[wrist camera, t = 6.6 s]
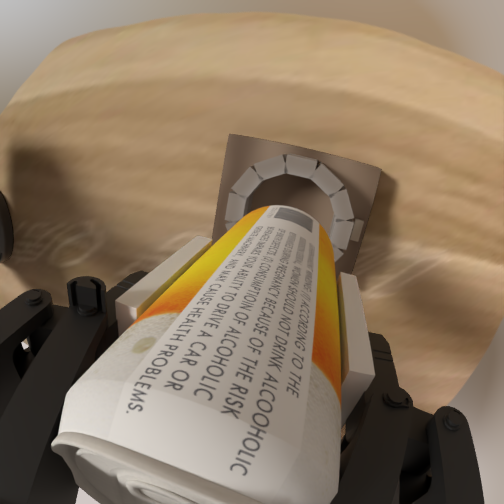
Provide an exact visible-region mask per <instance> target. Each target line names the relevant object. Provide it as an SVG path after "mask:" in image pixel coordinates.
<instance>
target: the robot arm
mask: <svg viewBox="0 0 504 504" xmlns="http://www.w3.org/2000/svg"><path fill="white" fill-rule="evenodd" d="M212 240H213V239H210V238H206V237H202V236H198V235H197V236H196V237H195V238H194V239H192V240H191V241H190V242H188V243H187V244H186V245H184V246H183V247H182V248H180V249H179V250H178V251H177V252H175V253H174V254H173V255H171V256H170V257H169V258H168V259H166V260H165V261H164V262H162V263H161V264H160V265H159V266H157V267H156V268H155V269H154V270H152V271H151V272H150V273H147V272H144V271H139V272H136V273H133V274H130V275H129V276H128V277H126V278H125V279H124V280H123V281H121V282H120V283H118V284H117V286H114V287H113V288H112V289H110V290H109V291H108V292H106V286H105V284H104V282H103V281H102V280H100V279H99V278H95V277H90V276H83V277H77V278H75V279H72V280H70V281H69V282H68V283H67V289H68V297H69V304H70V306H69V308H68V307H63V306H58V305H53V303H52V297H51V295H50V293H48V292H47V291H45V290H41V289H32V290H29V291H26V292H24V293H22V294H21V295H20V296H18V297H17V298H15V299H14V300H13V301H11V302H10V303H8V304H7V305H6V306H4V307H3V308H2V309H0V504H75V503H76V498H77V494H78V489H79V486H78V485H77V484H76V482H75V479H74V476H73V473H72V471H71V469H70V468H69V466H68V465H67V463H66V462H65V460H64V459H63V457H62V456H60V455H59V454H57V453H55V452H53V451H52V449H51V444H52V442H53V440H54V439H55V438H56V437H57V436H58V432H59V426H60V421H61V415H62V410H63V406H64V401H65V397H66V394H67V392H68V391H69V389H70V388H71V387H72V386H73V385H74V384H75V383H76V382H77V381H78V380H79V378H80V377H81V376H82V375H83V374H84V373H85V372H86V371H87V370H88V369H89V368H90V367H91V366H92V365H93V364H94V363H95V362H96V361H97V360H98V359H99V358H100V356H101V355H102V354H103V353H104V352H105V351H106V350H107V349H108V348H109V347H110V346H111V345H112V344H113V343H114V342H115V341H116V340H117V339H118V338H119V337H120V336H121V335H122V334H123V333H124V332H125V331H126V330H127V329H128V328H129V327H130V326H131V325H132V324H133V323H134V322H135V321H136V320H137V319H138V318H139V317H140V316H141V315H142V314H143V313H144V312H145V311H146V310H147V309H148V308H149V307H150V306H151V305H152V304H153V303H154V302H155V301H156V300H157V299H158V298H159V297H160V296H161V295H162V294H163V293H164V292H165V291H166V290H167V289H168V288H169V287H170V286H171V285H172V284H173V283H174V282H175V281H176V280H177V279H178V278H179V277H180V276H181V275H183V274H184V273H185V272H186V271H187V270H188V269H189V268H190V267H191V266H192V265H193V264H194V263H195V262H196V261H197V260H198V259H199V258H200V257H201V256H202V255H203V254H204V253H205V252H206V251H208V250H209V249H210V248H211V247H212ZM12 249H13V229H12V223H11V218H10V214H9V211H8V207H7V205H6V202H5V200H4V198H3V196H2V194H1V193H0V263H2V262H4V261H6V260H8V259H9V257H10V256H11V253H12ZM337 297H338V312H339V330H340V353H341V429H342V427H343V426H344V424H345V423H346V434H345V435H344V437H343V438H342V439H341V447H340V468H339V484H338V493H337V494H336V495H335V497H334V498H333V499H332V501H331V502H330V504H484V497H483V490H482V484H481V478H480V472H479V467H478V462H477V457H476V453H475V448H474V444H473V440H472V436H471V432H470V428H469V425H468V422H467V419H466V417H465V416H464V415H463V414H462V413H461V412H460V411H459V410H457V409H455V408H453V407H450V406H443V407H441V408H439V409H438V410H437V411H436V412H435V414H434V415H432V414H430V413H427V412H424V411H422V410H419V409H417V408H415V407H413V400H412V399H411V397H410V395H409V394H408V393H407V392H406V391H405V390H404V389H402V388H400V387H399V384H398V379H397V375H396V371H395V366H394V362H393V358H392V355H391V350H390V346H389V343H388V342H387V341H386V339H385V338H384V337H383V335H380V334H376V333H371V332H368V330H367V325H366V319H365V314H364V310H363V305H362V300H361V295H360V291H359V286H358V282H357V278H356V276H354V275H351V274H347V273H343V272H340V275H339V278H338V281H337ZM26 338H27V341H28V344H29V347H28V348H26V349H23V347H22V344H21V342H22V341H24V340H25V339H26Z"/></svg>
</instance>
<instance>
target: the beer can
mask: <svg viewBox="0 0 504 504" xmlns="http://www.w3.org/2000/svg"><path fill="white" fill-rule="evenodd" d="M340 447H341V353H340V330H339V312H338V297H337V284H336V273H335V262H334V252H333V247H332V244H331V241H330V238H329V236H328V234H327V233H326V231H325V230H324V228H323V227H322V226H321V225H320V223H319V222H318V221H316V220H315V219H314V218H313V217H312V216H310V215H309V214H307V213H305V212H304V211H301V210H299V209H297V208H293V207H289V206H283V205H272V206H265V207H262V208H258V209H256V210H254V211H252V212H250V213H248V214H247V215H245V216H244V217H243V218H242V219H241V220H239V221H238V222H237V223H236V224H235V225H234V226H233V227H232V228H231V229H230V230H229V231H228V232H227V233H226V234H224V235H223V236H222V237H221V238H220V239H219V240H218V241H217V242H216V243H215V244H214V245H213V246H212V247H211V248H210V249H209V250H208V251H206V252H205V253H204V254H203V255H202V256H201V257H200V258H199V259H198V260H197V261H196V262H195V263H194V264H193V265H192V266H191V267H190V268H189V269H188V270H187V271H186V272H185V273H184V274H183V275H181V276H180V277H179V278H178V279H177V280H176V281H175V282H174V283H173V284H172V285H171V286H170V287H169V288H168V289H167V290H166V291H165V292H164V293H163V294H162V295H161V296H160V297H159V298H158V299H157V300H156V301H155V302H154V303H153V304H152V305H151V306H150V307H149V308H148V309H147V310H146V311H145V312H144V313H143V314H142V315H141V316H140V317H139V318H138V319H137V320H136V321H135V322H134V323H133V324H132V325H131V326H130V327H129V328H128V329H127V330H126V331H125V332H124V333H123V334H122V335H121V336H120V337H119V338H118V339H117V340H116V341H115V342H114V343H113V344H112V345H111V346H110V347H109V348H108V349H107V350H106V351H105V352H104V353H103V354H102V355H101V356H100V358H99V359H98V360H97V361H96V362H95V363H94V364H93V365H92V366H91V367H90V368H89V369H88V370H87V371H86V372H85V373H84V374H83V375H82V376H81V377H80V378H79V380H78V381H77V382H76V383H75V384H74V385H73V386H72V387H71V388H70V389H69V391H68V392H67V394H66V397H65V401H64V406H63V410H62V415H61V421H60V426H59V432H58V436H57V437H56V438H55V439H54V440H53V442H52V444H51V449H52V451H53V452H55V453H57V454H59V455H60V456H62V457H63V459H64V460H65V462H66V463H67V465H68V466H69V468H70V469H71V471H72V473H73V476H74V479H75V482H76V484H77V485H78V486H79V487H80V488H81V489H82V490H84V491H85V492H86V493H87V494H88V495H90V496H91V497H92V498H94V499H95V500H96V501H98V502H99V503H100V504H330V502H331V501H332V499H333V498H334V497H335V495H336V494H337V493H338V484H339V468H340Z"/></svg>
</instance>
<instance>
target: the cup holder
mask: <svg viewBox="0 0 504 504" xmlns="http://www.w3.org/2000/svg"><path fill="white" fill-rule="evenodd" d="M381 170H382V169H381V168H378V167H375V166H371V165H368V164H365V163H361V162H358V161H354V160H350V159H347V158H343V157H339V156H335V155H331V154H328V153H324V152H319V151H315V150H311V149H307V148H302V147H298V146H293V145H289V144H284V143H279V142H274V141H269V140H264V139H259V138H253V137H248V136H242V135H236V134H229V137H228V143H227V148H226V154H225V160H224V166H223V172H222V178H221V184H220V190H219V196H218V202H217V209H216V215H215V222H214V229H213V236H212V239H213V240H212V246H213V245H214V244H215V243H216V242H217V241H218V240H219V239H220V238H221V237H222V236H223V235H224V234H226V233H227V232H228V231H229V230H230V229H231V228H232V227H233V226H234V225H235V224H236V223H237V222H238V221H239V220H241V219H242V218H243V217H244V216H245V215H247V214H248V213H250V212H252V211H254V210H256V209H258V208H262V207H265V206H272V205H283V206H289V207H293V208H297V209H299V210H301V211H304V212H305V213H307V214H309V215H310V216H312V217H313V218H314V219H315V220H316V221H318V222H319V223H320V225H321V226H322V227H323V228H324V230H325V231H326V233H327V234H328V236H329V238H330V241H331V244H332V247H333V252H334V262H335V273H336V284H337V281H338V278H339V275H340V272H343V273H347V274H351V273H352V271H353V268H354V264H355V261H356V258H357V255H358V252H359V249H360V246H361V243H362V239H363V236H364V233H365V229H366V226H367V222H368V219H369V215H370V212H371V208H372V205H373V201H374V197H375V194H376V190H377V186H378V182H379V178H380V174H381Z"/></svg>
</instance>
